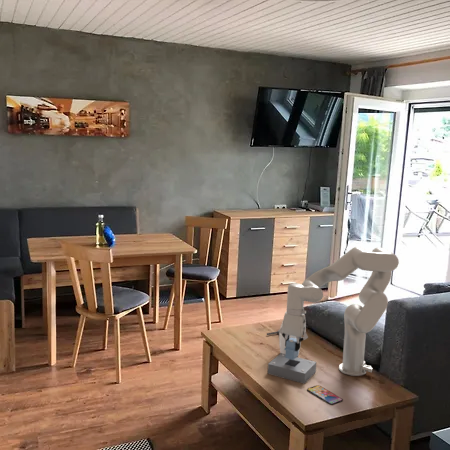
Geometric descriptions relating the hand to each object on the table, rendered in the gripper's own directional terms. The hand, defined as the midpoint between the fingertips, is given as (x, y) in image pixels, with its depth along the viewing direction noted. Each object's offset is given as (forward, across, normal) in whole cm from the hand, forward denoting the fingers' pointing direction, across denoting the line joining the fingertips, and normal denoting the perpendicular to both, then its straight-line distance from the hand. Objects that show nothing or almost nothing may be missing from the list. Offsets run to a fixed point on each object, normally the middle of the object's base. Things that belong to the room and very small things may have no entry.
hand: (292, 348), depth 237 cm
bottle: (+12, +8, -18) cm, 23 cm away
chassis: (+12, 0, 0) cm, 12 cm away
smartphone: (+12, -20, +12) cm, 27 cm away
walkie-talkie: (+12, +21, -41) cm, 47 cm away
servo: (+4, 0, 0) cm, 4 cm away
